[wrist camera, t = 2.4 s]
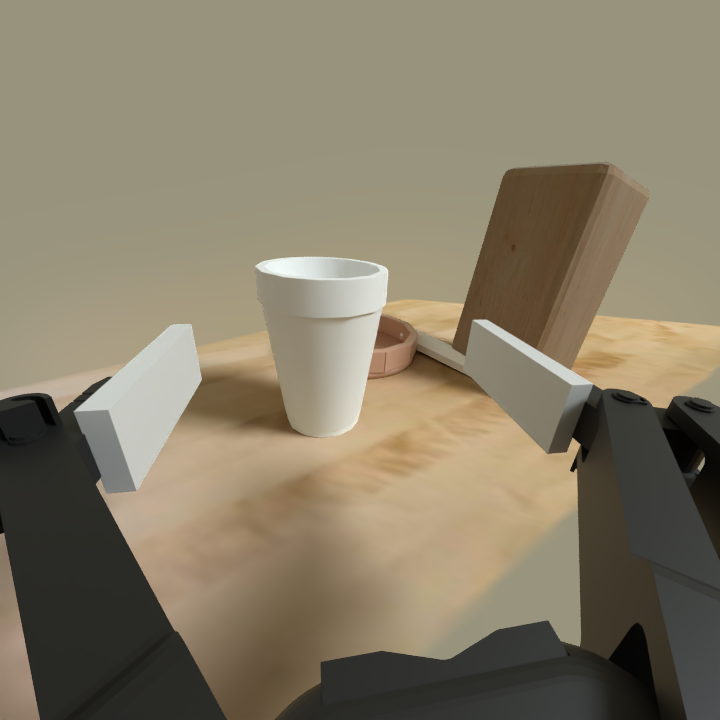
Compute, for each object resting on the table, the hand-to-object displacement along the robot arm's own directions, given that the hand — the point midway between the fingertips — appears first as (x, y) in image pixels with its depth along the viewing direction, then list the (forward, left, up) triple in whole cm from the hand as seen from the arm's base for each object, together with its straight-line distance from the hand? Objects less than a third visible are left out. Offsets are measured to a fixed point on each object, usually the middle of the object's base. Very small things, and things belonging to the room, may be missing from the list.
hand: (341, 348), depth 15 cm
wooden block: (+22, +17, -10) cm, 29 cm away
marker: (+16, +19, -11) cm, 27 cm away
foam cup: (0, +10, -11) cm, 15 cm away
